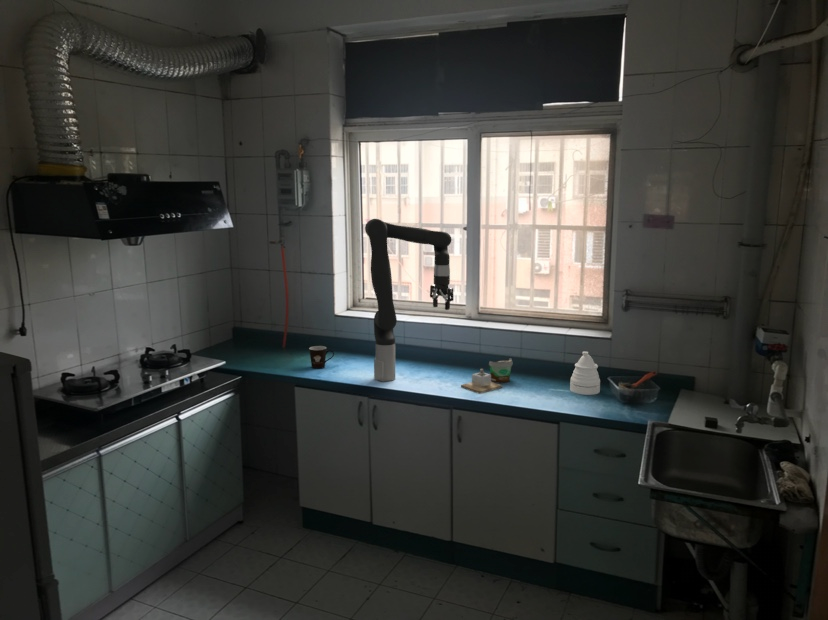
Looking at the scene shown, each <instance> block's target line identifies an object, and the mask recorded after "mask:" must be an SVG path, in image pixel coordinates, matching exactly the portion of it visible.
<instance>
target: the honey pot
mask: <svg viewBox="0 0 828 620" xmlns="http://www.w3.org/2000/svg"><path fill="white" fill-rule="evenodd" d="M574 367H575V368H574V370H573V371H572V372H573V373H572V375H571V377H570V382H569V390H570V391H571V392H572V393H574V394H578V395H585V396H587V395H588V396H591V395H597V394H600V391H601V379H600V375H599V372H598V370H597V369H598V367H599V365H598V364H597V363H595V361H594V358H593V357H592V356H591V355H590V354H589V351H582V355H581V357H580V358H579V359H578V361H577V362H576V363H575V364H574Z"/></svg>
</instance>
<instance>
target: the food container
mask: <svg viewBox="0 0 828 620" xmlns="http://www.w3.org/2000/svg"><path fill="white" fill-rule="evenodd" d="M513 364H514V363H513V360H512V358H511V357H510V358H508V359H507V360H497V361H491V360H489V362H488V366H489V374H490V375H491V382H493V383H496V384H507V383H509V382H510V379H511V373H512V372H511V371H512V370H511V369H512V366H513Z"/></svg>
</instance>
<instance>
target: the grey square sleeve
mask: <svg viewBox="0 0 828 620" xmlns="http://www.w3.org/2000/svg"><path fill="white" fill-rule="evenodd" d="M471 382H472V385H474V386H477V387H480V388H483V387H487V386H490V385H491V375H490V373H486V372H484V376H480V375H479V372H475V373H472V374H471Z"/></svg>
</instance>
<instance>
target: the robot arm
mask: <svg viewBox="0 0 828 620" xmlns="http://www.w3.org/2000/svg"><path fill="white" fill-rule="evenodd" d="M364 232H365V234H366V235H367V236H368V239H369V243H370V249H371V255H370V256H371V257H370V258H371V259H370V278H371V284H372V288H373V292H374V295H375V297H376V301H377V311H376V312H375V314H374V316H373V317H374V318H373V331H374V333H373V334H374V335H373V336H374V341H375V358H374V360H373V374H374V375H373V378H374V380H377V381H380V382H390V381H394V380H395V379H396V337H395V333H394V329H395V327H396V326H397V319H398V318H397V315H396V314H397V313H396V309H395V305H394V304H395V303H394V299H393V298H394V296H393V294H394V293H393V292H394V291H393V280H392V271H391V269H392V268H391V264H390V263H391V262H390V256H389V251H388V239H395V240H401V241H405V242H409V243H414V244H421V245H431V246H433V251H434V263H433V264H434V266H433V284H431V285H430V289H429V297H430V298H431V299H432V307H433V308H438V305H439V304H438V303H439V300H438V299H439V297H442V298H443V299H444V310H445V311H449V310H450V307H451V302H453V301H454V288H453V287H450V288H449V285H450V283H451V281H450V280H451V269H450V267H451V266H450V254H449V249H448V247H449V245H451V243H452V235H450V233H448V232H446V231H442V230H431V229H426V228H421V227H415V226H408V225H407V226H405V225H397V224H393V223H389V222H385V221H383V220H381V219H379V218H371V219H370V220H369V221H367V223H366V224H365V227H364Z"/></svg>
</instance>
